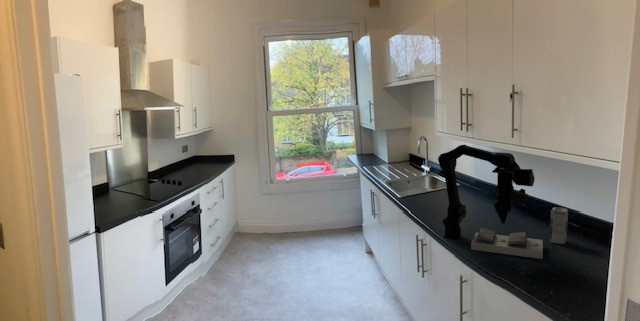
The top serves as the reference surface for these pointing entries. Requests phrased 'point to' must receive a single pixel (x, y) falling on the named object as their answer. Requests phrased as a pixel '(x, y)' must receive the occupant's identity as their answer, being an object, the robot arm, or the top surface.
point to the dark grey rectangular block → (486, 234)
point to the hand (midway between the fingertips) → (504, 220)
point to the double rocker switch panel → (508, 246)
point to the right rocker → (517, 238)
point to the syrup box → (558, 225)
